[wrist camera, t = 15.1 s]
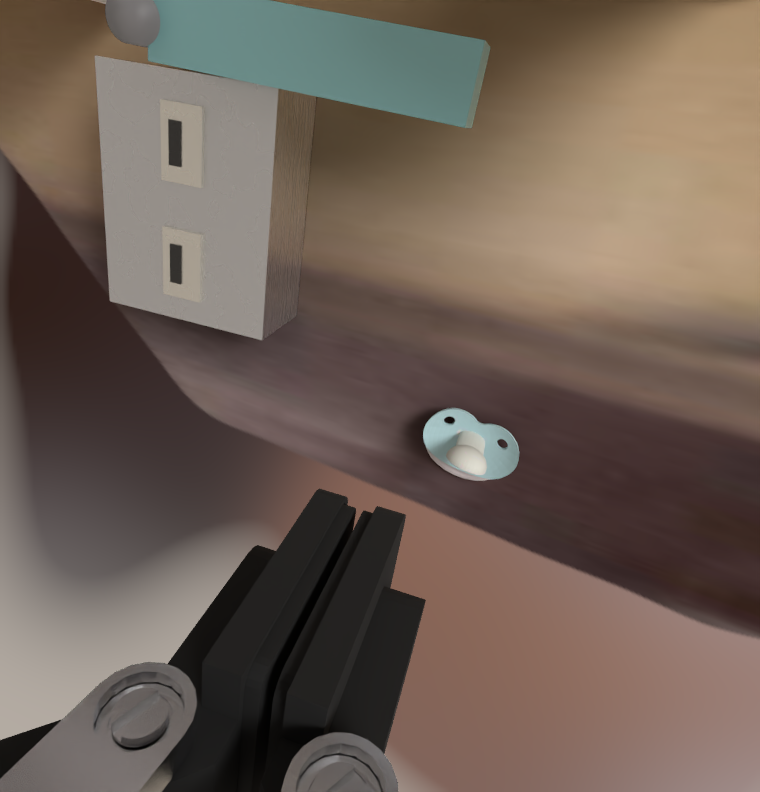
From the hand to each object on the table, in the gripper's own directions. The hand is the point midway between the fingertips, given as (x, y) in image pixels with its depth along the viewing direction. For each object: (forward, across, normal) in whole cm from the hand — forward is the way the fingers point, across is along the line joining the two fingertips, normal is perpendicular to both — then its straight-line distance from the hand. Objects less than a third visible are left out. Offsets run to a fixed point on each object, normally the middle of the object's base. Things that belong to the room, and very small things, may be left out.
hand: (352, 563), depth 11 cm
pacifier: (+32, -1, +15) cm, 36 cm away
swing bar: (+32, +12, -9) cm, 35 cm away
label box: (+32, +20, 0) cm, 38 cm away
